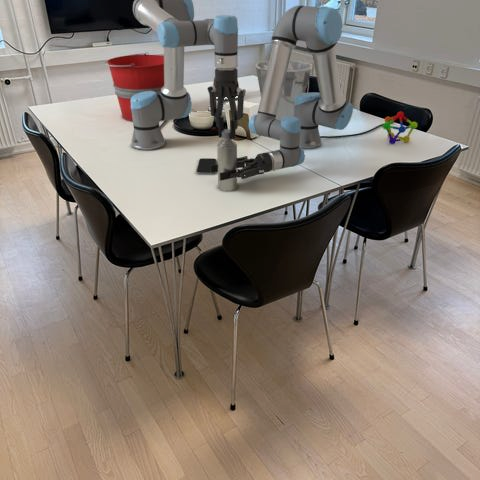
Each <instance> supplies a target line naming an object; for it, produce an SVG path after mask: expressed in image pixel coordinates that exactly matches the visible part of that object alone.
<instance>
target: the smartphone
mask: <svg viewBox="0 0 480 480" xmlns="http://www.w3.org/2000/svg"><path fill="white" fill-rule="evenodd" d="M216 164H217V158H210V157H209V158H207V157H206V158H205V157H203V158H202V157H201V158H199V159H198V163H197V168H196V174H199V175H212V174H214V173H211V172H210V166H211V165H216Z"/></svg>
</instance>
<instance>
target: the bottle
mask: <svg viewBox="0 0 480 480" xmlns="http://www.w3.org/2000/svg"><path fill="white" fill-rule="evenodd" d="M216 149H217V164H218V172H217V188H218V190H220V191H222V192H232V191H233V192H234V191H235V190H237V189H238V177H235V178H231V179H226V180H222V181H221V180H220V173H222V172H227V171H232V170H237V169H238V168H237V158H238V144H237V143H236V141H234V140H233V139H230V138H229V139H225V138H222V139H221V140H220V141H219V142H217V145H216Z"/></svg>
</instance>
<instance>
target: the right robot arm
mask: <svg viewBox="0 0 480 480" xmlns="http://www.w3.org/2000/svg"><path fill="white" fill-rule="evenodd" d="M342 29H343V19H342V15H341V13H340V12H339V11H338V10H337V9H336V8H334V7H328V6H312V5H311V6H309V5H302V4H301V5H295V6H292V7H290V8H289V9H287V10H286V11H285V12H284V13H283V14H282V16H281V17H280V18H279V19H278V21H277V23H276V25H275V27H274V29H273V32H272V36H271V41H270V43H271V45H272V48H271V52H270V56H269V60H268V61H269V65H268V69H267V74H266V78H265V83H264V87H263V92H262V96H261V95H260V101H259V107H258V108H257V113H256V114H253V115H252V116H251V117H250V119H249V121H248V129H249V132H251V134H253V135H258V136H260V137H265V138H269V139H272V140H275V141H279V149H276V150H271V151H270V150H269V151H266V152H260V153H258V154H256V155H255V157H254V158H248V156H247V155H244V156H240V157H237V170H232V171H227V172H222V173H220V180H221V181H222V180H226V179H231V178H235V177H237V179H238V178H239V179H241V180H245V179H248V178H249V179H250V178H251V177H256V176H259V175H264V174H266V173H269V172H275V171H279V170H282V169H287V168H294V167H296V166H300V165H302V164H303V163H304V162H305V159H306V155H305V150H311V149H316V148H319V147H321V144H322V139H337V138H338V139H340V138H348V137H349V138H350V137H356V136H362V135H365V134H368V133H370V132H373V131H374V130H376V129H378V128H381V127H383V124H384V123H385V122H383V123H380V124H379V125H377V126H374V127H373V128H370V129H368V130H366V131H362V132H359V133H353V134H352V133H351V134H342V135H320V130H319V126H321V127H324V128H329V129H331V130H339V131H341V130H344V129H346V127H347V126H348V125H349V123H350V121H351V119H352V116H353V114H354V113H353V112H354V105H353V104H352V103H351V102H347V97H346V95H345V93H343V92H342V88H341V81H340V74H339V67H338V61H337V55H336V48H335V47H336V46H337V44H338V42H339V40H340V39H341V38H342V37H341V36H342V34H343V30H342ZM298 41H299V42H300V41H301V42H305V46H306V49H307V51H308V52H309V53H310V54H311V55H312V60H313V65H314V70H315V75H316V81H317V87H318V91H319V92H314V91H313V92H308V93H307V92H305V93H303V94H299V95H297V96H296V98H295V104H294V117H291V116H287V117H284V118H282V120H277V119H276V114H277V110H278V106H279V102H280V97H281V93H282V89H283V85H284V81H285V77H286V73H287V69H288V64H289V60H291V56H292V51H293V50H294V49H295V48H296V47H297V43H298ZM394 123H395V121H394V122H392V123H391V124H394ZM210 172H211V173H213V174H215V173H218V163H216V165H211V166H210Z"/></svg>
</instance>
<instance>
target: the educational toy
mask: <svg viewBox="0 0 480 480" xmlns="http://www.w3.org/2000/svg"><path fill="white" fill-rule="evenodd" d="M397 119H399V124H400V125H399V127H398V126H393V125H391V124H393V123H392V122H394V123H395V121H396V120H397ZM403 120H404V121H405V122H407V123H408V124H409V125H407V126H404V123H403ZM383 123H384V124H383ZM383 123H382V124H383V126H382V129H383V130H386V132H387V138H388V142H389V145H395V144H396V143H397V142H402V141H403V142H404V143H409V142H410V140H411V138H410V136H411V134H412V132H413V131H414V130H415V129H417V127H418V122H417V121H411V120H410V119H409V118H408V117H406V116H405V113H404V112H403V111H401V110H400V111H398V112H397V114H396V115H394V116H391V117H390V116H386V117H385V118H384V122H383ZM392 129H393V130H397V131H398V132H396V134H395V133H394V132H392ZM408 129H409V131H408V133H407V134H406V135H404V136H401V134H403V133H405V132H406V130H408ZM399 135H400V136H399Z"/></svg>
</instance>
